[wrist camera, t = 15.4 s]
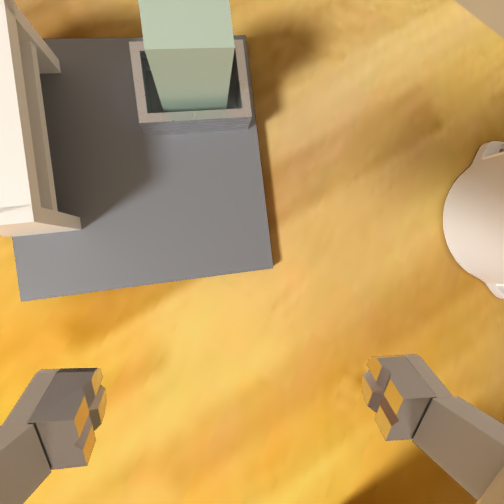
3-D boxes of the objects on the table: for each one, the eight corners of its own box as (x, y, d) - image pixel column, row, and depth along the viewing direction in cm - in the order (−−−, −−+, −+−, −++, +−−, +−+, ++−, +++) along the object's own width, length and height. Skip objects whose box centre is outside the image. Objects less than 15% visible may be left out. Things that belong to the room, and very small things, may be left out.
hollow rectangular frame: (239, 59, 31) (242, 39, 28) (247, 129, 31) (252, 116, 28) (136, 62, 29) (128, 41, 26) (145, 135, 30) (139, 123, 27)
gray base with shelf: (244, 43, 32) (258, -39, 23) (271, 267, 33) (295, 273, 24) (-6, 48, 29) (-105, -46, 20) (28, 299, 29) (-53, 321, 20)
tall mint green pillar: (220, 68, 31) (226, -19, 21) (225, 112, 31) (234, 47, 21) (159, 70, 30) (135, -20, 20) (165, 116, 30) (144, 49, 20)
